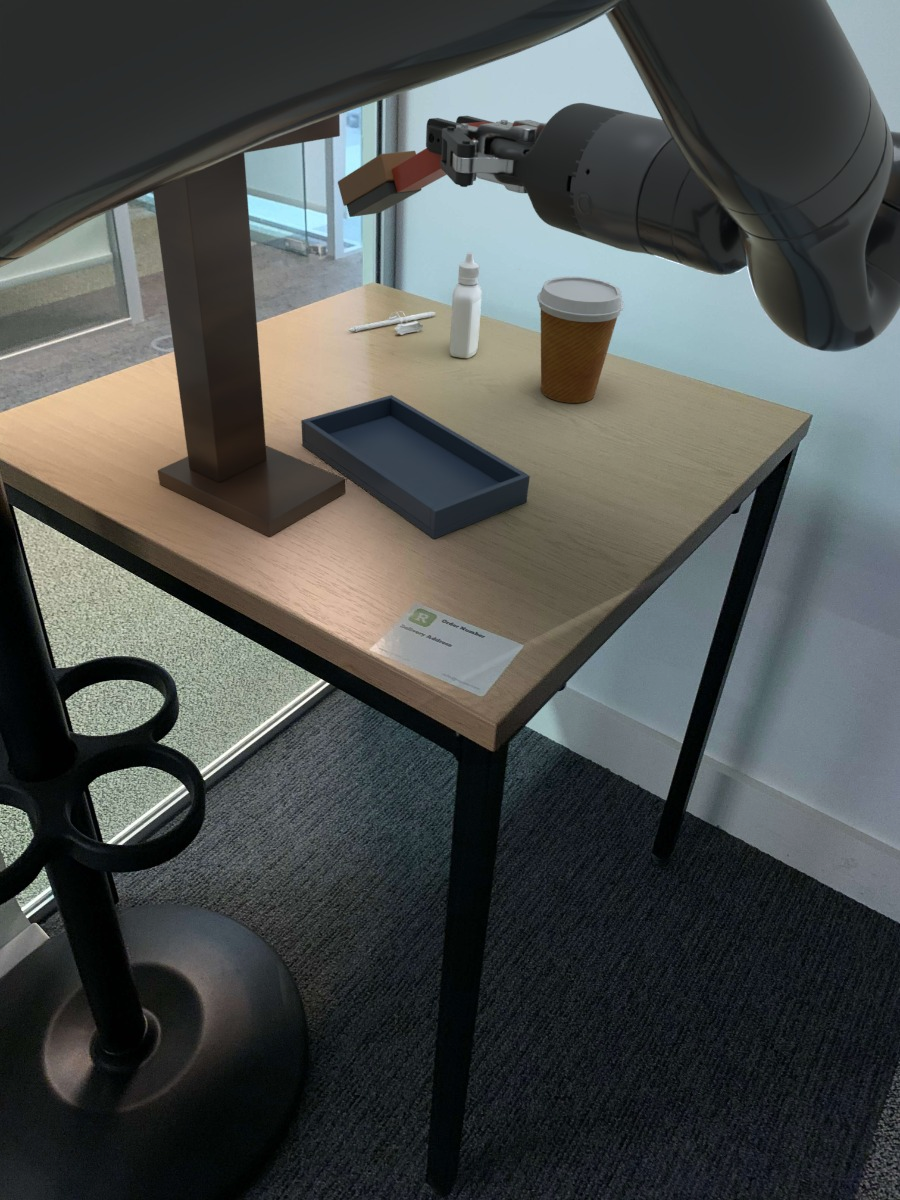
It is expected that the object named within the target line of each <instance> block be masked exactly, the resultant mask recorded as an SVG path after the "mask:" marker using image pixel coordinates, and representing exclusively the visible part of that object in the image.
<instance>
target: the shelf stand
mask: <svg viewBox="0 0 900 1200" xmlns="http://www.w3.org/2000/svg"><path fill="white" fill-rule="evenodd" d="M340 115H341V114H339V115H336V116H333V117H330V118H328V119H325V120H322V121H319V122H316V123H313V124H311V125H308V126H305V127H303V128H300V129H297V130H295V131H292V132H289V133H287V134H284V135H281V136H279V137H276V138H274V139H271V140H269V141H267V142H264V143H262V144H259V145H257V146H255V147H252V148H250V149H248V150H245V151H243V152H241V153H238V154H236V155H234V156H232V157H229V158H227V159H225V160H223V161H220V162H218V163H216V164H214V165H212V166H209V167H207V168H205V169H203V170H200V171H198V172H196V173H193V174H191V175H189V176H186V177H184V178H182V179H180V180H177V181H175V182H173V183H171V184H168V185H166V186H164V187H162V188H159V189H157V190H155V191H153V192H152V194H153V202H154V210H155V217H156V224H157V225H156V226H157V232H158V233H157V234H158V239H159V246H160V247H159V248H160V254H161V263H162V271H163V279H164V286H165V293H166V301H167V302H166V303H167V309H168V316H169V323H170V331H171V339H172V346H173V354H174V361H175V368H176V369H175V371H176V377H177V384H178V392H179V401H180V407H181V415H182V422H183V430H184V437H185V438H184V439H185V445H186V453H187V456H185V457H183V458H181V459H179V460H176V461H174V462H172V463H170V464H168V465H166V466H164V467H161V468H159V469H157V475H158V483H159V485H161V486H163V487H164V488H166V489H168V490H171V491H173V492H175V493H177V494H179V495H182V496H184V497H185V498H187V499H189V500H192V501H194V502H196V503H198V504H200V505H202V506H204V507H206V508H208V509H210V510H212V511H214V512H217V513H219V514H221V515H223V516H225V517H227V518H228V519H231V520H233V521H236V522H237V523H240V524H242V525H244V526H246V527H248V528H249V529H252V530H254V531H256V532H258V533H261V534H262V535H265V536H267V537H269V538H270V537H272V536H274V535H276V534H277V533H279V532H281V531H283V530H284V529H286V528H288V527H289V526H291V525H293V524H295V523H296V522H298V521H300V520H301V519H303V518H305V517H307V516H308V515H310V514H312V513H313V512H315V511H317V510H318V509H320V508H322V507H324V506H325V505H328V504H329V503H330V502H332V501H334V500H336V499H337V498H339V497H341V496H342V495H344V494H346V491H347V490H346V478H344V477H342V476H339V475H337V474H335V473H332V472H330V471H328V470H325V469H323V468H320V467H318V466H316V465H313V464H311V463H308V462H306V461H303V460H302V459H299V458H297V457H294V456H292V455H289V454H287V453H286V452H282V451H280V450H277V449H275V448H273V447H270V446H268V445H266V432H265V417H264V404H263V403H264V402H263V390H262V388H263V387H262V375H261V362H260V349H259V334H258V324H257V323H258V322H257V309H256V308H257V307H256V296H255V295H256V294H255V282H254V281H255V280H254V266H253V255H252V240H251V239H252V238H251V226H250V212H249V200H248V199H249V198H248V186H247V171H246V159H245V153H252V152H257V151H263V150H269V149H274V148H281V147H287V146H292V145H298V144H303V143H309V142H314V141H320V140H326V139H327V140H328V139H331V138H337V137H340V136H341V126H340V125H341V123H340V121H341V120H340V119H341V118H340Z"/></svg>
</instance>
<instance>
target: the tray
mask: <svg viewBox="0 0 900 1200" xmlns="http://www.w3.org/2000/svg"><path fill="white" fill-rule="evenodd" d="M300 423H301V445H302V447H304V448H305V449H307V450H308V451H310V452H311V453H312V454H313V455H315V456H316V457H318V458H319V459H321V460H322V461H323V462H325V463H326V464H328V465H329V466H331V467H332V468H333V469H335V470H337V471H338V472H339V473H340V474H342V475H343V476H344V477H346V478H347V479H349V480H350V481H351V482H353V483H354V484H355V485H356V486H357V485H358V486H359V487H360V488H361V489H363V490H364V491H366V492H367V493H369V494H370V495H372V496H373V497H374V498H375V499H377V500H378V501H379V502H381V503H383V504H384V505H385V506H387V507H388V508H390V509H391V510H393V512H394V513H397V514H398V515H400V516H401V517H402V518H404V519H405V520H406V521H408V522H410V523H411V524H412V525H414V526H415V527H416V528H418V529H419V530H420V531H421V532H423V533H425V534H426V535H428V536H429V537H430V538H432V539H433V540H435V539H437V538H440V537H443V536H445V535H448V534H450V533H453V532H455V531H458V530H460V529H462V528H463V529H464V528H466V527H467V526H470V525H473V524H476V523H477V522H480V521H483V520H486V519H488V518H490V517H493V516H495V515H498V514H500V513H503V512H505V511H507V510H511V509H512V508H515V507H518V506H520V505H523V504H526V503H527V502H528V494H529V493H528V492H529V485H530V477H531V476H530V475H529V474H528V473H526V472H524V471H522V470H521V469H520V468H517V467H515V466H514V465H512V464H510V463H509V462H507V461H505V460H503V459H502V458H500V457H498V456H497V455H495V454H494V453H491V452H490V451H488V450H486V449H485V448H483V447H482V446H479V445H478V444H476V443H474V442H473V441H472V440H470V439H468V438H466V437H464V436H462V435H461V434H460V433H457V432H456V431H454V430H452V429H450V428H449V427H447V426H445V425H444V424H442V423H440V422H439V421H437V420H435V419H433V418H432V417H431V416H428V415H426V414H425V413H423V412H421V410H418V409H417V408H415V407H413V406H411V405H410V404H408V403H406V402H405V401H404V400H401V399H399V398H398V397H396V396H394V395H392V394H390V395H387V396H383V397H380V398H375V399H372V400H368V401H365V402H361V403H358V404H355V405H351V406H347V407H343V408H340V409H337V410H333V411H329V412H326V413H323V414H319V415H316V416H315V415H314V416H312V417H309V418H308V417H307V418H305V419H301V421H300Z"/></svg>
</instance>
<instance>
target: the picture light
mask: <svg viewBox="0 0 900 1200" xmlns="http://www.w3.org/2000/svg"><path fill="white" fill-rule="evenodd" d="M399 313H402V314H403V316H400V314H399ZM394 314H395V316H393V315H394ZM436 314H437V313H436V312H435V311H425V312H421V313H417V314H416V313H415V314H412V315H407V316H406V314H405V313H404V311H402V310H398V311H393V312H392V313H391V314H390V316H389V317H388V319H385V320H380V321H374V322H372V323H366V324H360V325H354V326H352V327H350V328H349V329H347V332H350V333H357V332H361V331H366V330H371V329H375V328H382V327H385V326H386V327H387V326H391V325H395V324H396V326H395V327H394V330H393V331H394V332H395V333H397V334H398V335H400V336H403V335H404V334H408V333H413V332H420V331H421V329H423V328H424V325H423V324H422V323H421V322H419V321H418V320H421V319H425V318H427V319H428V318H431V317H434V316H435V315H436Z"/></svg>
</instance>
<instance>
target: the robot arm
mask: <svg viewBox="0 0 900 1200" xmlns="http://www.w3.org/2000/svg"><path fill="white" fill-rule="evenodd" d="M604 15H605V16H606V18H607V21H608V22H609V23H610V26H611V27H612V29H613V30H614V32H615V34H616V35H617V37H618V39H619V40H620V43H621V44H622V47H623V48H624V51H625V52H626V53H627V56H628V57H629V59H630V61H631V63H632V65H633V67H634V69H635V71H636V72H637V74H638V76H639V78H640V80H641V82H642V84H643V86H644V88H645V89H646V91H647V93H648V95H649V97H650V99H651V101H652V103H653V105H654V107H655V109H656V110H657V112H658V114H659V116H660V118H661V119H660V118H657V117H652V116H648V115H643V114H639V113H633V112H629V111H624V110H620V109H614V108H609V107H605V106H601V105H595V104H590V103H585V102H577V103H572V104H569V105H566V106H564V107H562V108H561V109H560V110H558V111H557V112H556V113H554V114H553V115H552V116H551V117H550V118H549V119H548V121H547V122H546V123H545V122H539V121H535V120H531V119H524V120H521V119H520V120H514V121H513V122H511V121H509V120H506V119H501V120H499V121H496V122H494V121H492V120H491V121H490V120H486V119H484V118H483V119H482V118H478V117H475V116H472V115H471V116H470V115H459V116H458V117H457V118H456V120H455V121H452V120H448V119H443V118H440V117H434V118H428V120H427V122H426V128H425V129H426V131H425V133H426V134H425V147H426V148H427V149H428V151H429V152H432V153H435V154H439V155H442V159H441V166H440V168H441V169H442V170H443V171H444V172H445V173H446V174H447V175H446V176H447V177H448V178H449V179H450V180H451V181H452V182H453V183H454V184H455V185H457V186H459V187H462V188H467V187H469V186H472V185H474V182H475V181H477V179H478V180H479V179H480V180H484V181H487V182H491V183H495V184H499V185H502V186H504V188H505V189H506V190H507V191H510V192H512V193H513V192H514V193H517V194H527V197H528V198H529V201H530V202H531V205H532V208H533V209H534V212H535V213H536V215H537V216H538V218H539V219H540V220H542V221H543V222H544V223H545V224H546V225H548V226H550V227H553V228H556V229H557V230H562V231H565V232H568V233H571V234H575V235H576V236H580V237H583V238H586V239H589V240H592V241H595V242H596V243H597V242H598V243H601V244H604V245H607V246H610V247H613V248H615V249H618V250H619V249H620V250H622V251H626V252H631V253H637V254H645V255H650V256H655V257H657V258H660V259H663V260H666V261H668V262H672V263H675V264H678V265H681V266H684V267H687V268H690V269H693V270H696V271H699V272H702V273H705V274H710V275H715V276H729V275H732V274H736V273H739V272H741V271H743V270H744V269H747V272H748V277H749V281H750V284H751V286H752V290H753V293H754V295H755V297H756V300H757V302H758V304H759V305H760V307H761V308H762V310H763V312H764V314H765V315H766V316H767V317H768V318H769V319H770V321H771V322H772V323H773V324H774V325H775V326H776V327H777V328H778V330H780V331H781V332H782V333H783V334H784V335H786V336H787V337H789V338H790V339H792V340H793V341H795V342H796V343H798V344H801V345H803V346H804V347H807V348H810V349H813V350H817V351H822V352H828V353H839V352H840V353H841V352H847V351H851V350H855V349H858V348H861V347H863V346H865V345H867V344H869V343H871V342H872V341H874V340H875V339H876V338H878V337H879V336H880V335H882V333H883V332H884V331H885V330H886V329H887V328H888V326H889V325H890V324H891V323H892V322H893V319H894V318H895V317H896V316H897V314H898V312H899V310H900V132H899V131H891V129H890V127H889V123H888V121H887V119H886V116H885V114H884V112H883V110H882V108H881V106H880V105H881V104H879V101H878V99H877V97H876V95H875V92H874V90H873V87H872V86H871V84H870V82H869V79H868V78H867V75H866V73H865V71H864V69H863V67H862V65H861V62H860V61H859V59H858V57H857V55H856V53H855V51H854V49H853V47H852V45H851V44H850V42H849V39H848V38H847V36H846V34H845V33H844V31H843V29H842V26H841V24H840V23H839V21H838V19H837V17H836V15H835V13H834V11H833V9H832V8H831V6H830V4H829V3H828V1H827V0H0V268H2V267H4V266H7V265H8V264H11V263H13V262H15V261H18V260H19V259H21V258H23V257H25V256H27V255H30V254H31V253H34V252H35V251H38V250H39V249H40V248H42V247H44V246H46V245H48V244H50V243H52V242H53V241H55V240H57V239H59V238H61V237H63V236H64V235H66V234H67V233H69V232H71V231H73V230H75V229H77V228H79V227H81V226H82V225H84V224H86V223H88V222H90V221H92V220H94V219H96V218H99V217H100V216H102V215H104V214H106V213H108V212H111V211H113V210H114V209H115V210H116V209H117V208H119V207H121V206H123V205H126V204H128V203H131V202H132V201H134V200H137V199H139V198H142V197H144V196H146V195H149V194H151V193H153V191H155V190H157V189H159V188H162V187H164V186H166V185H168V184H171V183H173V182H175V181H177V180H180V179H182V178H184V177H186V176H189V175H191V174H193V173H196V172H198V171H200V170H203V169H205V168H207V167H209V166H212V165H214V164H216V163H218V162H220V161H223V160H225V159H227V158H229V157H232V156H234V155H236V154H238V153H241V152H243V151H245V150H248V149H250V148H252V147H255V146H257V145H259V144H262V143H264V142H267V141H269V140H271V139H274V138H276V137H279V136H281V135H284V134H287V133H289V132H292V131H295V130H297V129H300V128H303V127H305V126H308V125H311V124H313V123H316V122H319V121H322V120H325V119H328V118H330V117H333V116H336V115H339V114H340V115H341V114H344V113H347V112H349V111H353V110H356V109H358V108H361V107H362V108H363V107H365V106H369V105H370V104H374V103H376V102H379V101H383V100H387V99H389V98H391V97H394V96H397V95H400V94H402V93H407V92H409V91H412V90H415V89H419V88H421V87H424V86H428V85H430V84H433V83H436V82H439V81H442V80H444V79H447V78H450V77H453V76H457V75H459V74H462V73H465V72H468V71H471V70H474V69H477V68H479V67H482V66H485V65H488V64H491V63H494V62H497V61H499V60H502V59H505V58H507V57H511V56H513V55H516V54H519V53H521V52H524V51H526V50H529V49H531V48H533V47H536V46H538V45H541V44H544V43H546V42H548V41H551V40H554V39H555V38H558V37H561V36H563V35H566V34H567V33H570V32H572V31H575V30H577V29H579V28H581V27H583V26H585V25H587V24H589V23H591V22H593V21H595V20H596V19H598V18H601V17H603V16H604ZM477 122H491V123H487V124H481V125H479V126H478V127H474V126H470V125H468V124H467V123H477ZM473 138H475V139H476V140H473Z"/></svg>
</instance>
